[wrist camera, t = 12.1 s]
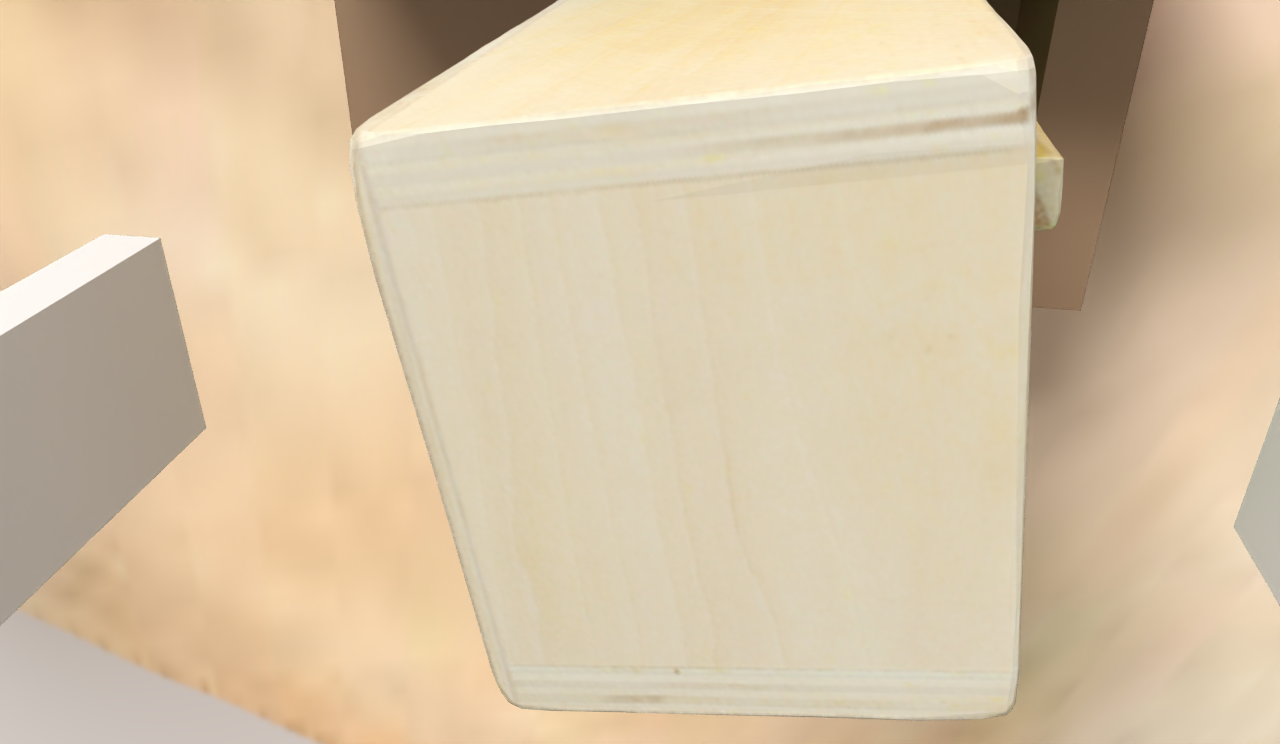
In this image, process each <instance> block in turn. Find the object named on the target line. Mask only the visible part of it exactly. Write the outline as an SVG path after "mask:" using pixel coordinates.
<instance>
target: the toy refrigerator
mask: <svg viewBox="0 0 1280 744" xmlns="http://www.w3.org/2000/svg"><path fill="white" fill-rule="evenodd" d="M1063 165H1064V159H1063V157H1062V156H1061V155H1060V153H1059V152H1058V151H1057V149H1056V148H1055V147H1054V145H1053V144H1052V143H1051V141H1050V140H1049V138H1048V137H1047V135H1046V134H1045V133H1044V131H1043V130H1042V128H1041V127H1040V125H1039V124H1038V122H1037V119H1036V70H1035V64H1034V60H1033V56H1032V54H1031V52H1030V50H1029V48H1028V47H1027V46H1026V44H1025V43H1024V42H1023V41H1022V40H1021V39H1020V38H1019V36H1018V35H1017V34H1016V33H1015V32H1014V31H1013V30H1012V28H1011V27H1010V26H1009V25H1008V24H1007V23H1006V22H1005V21H1004V20H1003V19H1002V18H1001V17H1000V16H999V15H998V14H997V13H996V12H995V11H994V9H993V8H992V7H991V6H990V5H989V4H988V2H987V1H986V0H558V1H556V2H555V3H553V4H552V5H550V6H549V7H547V8H546V9H544V10H542V11H541V12H539V13H538V14H536V15H535V16H533V17H531V18H530V19H528V20H526V21H525V22H523V23H521V24H520V25H518V26H516V27H514V28H513V29H511V30H509V31H508V32H506V33H505V34H503V35H502V36H500V37H498V38H497V39H495V40H493V41H492V42H490V43H488V44H487V45H485V46H483V47H482V48H480V49H479V50H477V51H476V52H474V53H473V54H471V55H470V56H468V57H467V58H465V59H464V60H462V61H460V62H459V63H457V64H456V65H454V66H452V67H451V68H449V69H448V70H446V71H444V72H443V73H441V74H440V75H438V76H436V77H435V78H433V79H432V80H430V81H428V82H427V83H425V84H423V85H422V86H420V87H419V88H417V89H415V90H414V91H412V92H411V93H409V94H407V95H406V96H404V97H403V98H401V99H399V100H398V101H396V102H395V103H393V104H392V105H390V106H388V107H387V108H385V109H384V110H382V111H380V112H379V113H377V114H376V115H374V116H372V117H371V118H369V119H368V120H367V121H365V122H364V123H363V124H362V125H360V126H359V127H358V128H357V129H356V130H355V132H354V134H353V135H352V137H351V138H350V171H351V176H352V181H353V186H354V191H355V197H356V202H357V207H358V211H359V215H360V219H361V223H362V227H363V231H364V235H365V239H366V243H367V247H368V251H369V255H370V259H371V263H372V267H373V270H374V274H375V278H376V281H377V285H378V288H379V291H380V295H381V298H382V301H383V305H384V308H385V311H386V315H387V318H388V321H389V325H390V328H391V331H392V335H393V338H394V341H395V345H396V348H397V351H398V355H399V358H400V361H401V365H402V368H403V371H404V374H405V378H406V381H407V384H408V388H409V391H410V394H411V398H412V401H413V404H414V407H415V411H416V414H417V417H418V421H419V424H420V427H421V431H422V434H423V437H424V440H425V444H426V447H427V450H428V454H429V457H430V460H431V464H432V467H433V470H434V474H435V477H436V480H437V484H438V487H439V491H440V494H441V498H442V501H443V505H444V508H445V511H446V515H447V518H448V522H449V525H450V529H451V532H452V535H453V539H454V542H455V546H456V549H457V553H458V556H459V559H460V563H461V566H462V570H463V573H464V577H465V580H466V584H467V587H468V590H469V594H470V597H471V601H472V604H473V608H474V611H475V614H476V618H477V621H478V625H479V628H480V632H481V635H482V639H483V642H484V645H485V649H486V652H487V656H488V659H489V663H490V666H491V669H492V672H493V675H494V677H495V680H496V682H497V684H498V686H499V688H500V690H501V692H502V694H503V695H504V696H505V698H506V699H507V701H508V702H510V703H511V704H513V705H515V706H517V707H519V708H522V709H534V710H548V711H592V712H632V713H669V714H706V715H746V716H790V717H827V718H858V719H889V720H919V721H922V720H967V719H986V718H992V717H997V716H1002V715H1007V714H1008V713H1009V712H1010V711H1011V710H1012V709H1013V706H1014V704H1015V702H1016V694H1017V685H1018V676H1019V658H1020V630H1021V602H1022V574H1023V547H1024V519H1025V492H1026V465H1027V436H1028V407H1029V377H1030V348H1031V318H1032V288H1033V256H1034V231H1043V230H1051V229H1052V228H1053V227H1054V226H1055V225H1056V223H1057V221H1058V218H1059V215H1060V211H1061V199H1062V187H1063Z"/></svg>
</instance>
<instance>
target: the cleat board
mask: <svg viewBox="0 0 1280 744" xmlns="http://www.w3.org/2000/svg"><path fill="white" fill-rule="evenodd" d="M334 1H335V8H336V16H337V23H338V31H339V38H340V46H341V53H342V60H343V68H344V75H345V83H346V90H347V98H348V105H349V113H350V120H351V128H352V135H353V134H354V132H355V130H356V129H357V128H358V127H359V126H360V125H362V124H363V123H364V122H365V121H367V120H368V119H369V118H371V117H372V116H374V115H376V114H377V113H379V112H380V111H382V110H384V109H385V108H387V107H388V106H390V105H392V104H393V103H395V102H396V101H398V100H399V99H401V98H403V97H404V96H406V95H407V94H409V93H411V92H412V91H414V90H415V89H417V88H419V87H420V86H422V85H423V84H425V83H427V82H428V81H430V80H432V79H433V78H435V77H436V76H438V75H440V74H441V73H443V72H444V71H446V70H448V69H449V68H451V67H452V66H454V65H456V64H457V63H459V62H460V61H462V60H464V59H465V58H467V57H468V56H470V55H471V54H473V53H474V52H476V51H477V50H479V49H480V48H482V47H483V46H485V45H487V44H488V43H490V42H492V41H493V40H495V39H497V38H498V37H500V36H502V35H503V34H505V33H506V32H508V31H509V30H511V29H513V28H514V27H516V26H518V25H520V24H521V23H523V22H525V21H526V20H528V19H530V18H531V17H533V16H535V15H536V14H538V13H539V12H541V11H542V10H544V9H546V8H547V7H549V6H550V5H552V4H553V3H555V2H556V1H558V0H334ZM986 1H987V2H988V4H989V5H990V6H991V7H992V8H993V9H994V11H995V12H996V13H997V14H998V15H999V16H1000V17H1001V18H1002V19H1003V20H1004V21H1005V22H1006V23H1007V24H1008V25H1009V26H1010V27H1011V28H1012V30H1013V31H1014V32H1015V33H1016V34H1017V35H1018V36H1019V38H1020V39H1021V40H1022V41H1023V42H1024V43H1025V44H1026V46H1027V47H1028V48H1029V50H1030V52H1031V54H1032V56H1033V60H1034V64H1035V70H1036V119H1037V122H1038V124H1039V125H1040V127H1041V128H1042V130H1043V131H1044V133H1045V134H1046V135H1047V137H1048V138H1049V140H1050V141H1051V143H1052V144H1053V145H1054V147H1055V148H1056V149H1057V151H1058V152H1059V153H1060V155H1061V156H1062V157H1063V159H1064V165H1063V187H1062V199H1061V211H1060V215H1059V218H1058V221H1057V223H1056V225H1055V226H1054V227H1053V228H1052V229H1051V230H1043V231H1034V256H1033V288H1032V307H1039V308H1053V309H1066V310H1079V311H1081V306H1082V302H1083V298H1084V294H1085V289H1086V285H1087V281H1088V277H1089V272H1090V268H1091V264H1092V260H1093V256H1094V251H1095V247H1096V243H1097V239H1098V234H1099V230H1100V226H1101V222H1102V217H1103V213H1104V209H1105V205H1106V200H1107V196H1108V192H1109V188H1110V183H1111V179H1112V175H1113V171H1114V166H1115V162H1116V158H1117V154H1118V149H1119V145H1120V141H1121V137H1122V132H1123V128H1124V124H1125V120H1126V116H1127V111H1128V107H1129V103H1130V99H1131V94H1132V90H1133V86H1134V82H1135V77H1136V73H1137V69H1138V65H1139V60H1140V56H1141V52H1142V48H1143V43H1144V39H1145V35H1146V31H1147V26H1148V22H1149V18H1150V14H1151V9H1152V5H1153V1H1154V0H986Z"/></svg>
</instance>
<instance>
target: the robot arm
mask: <svg viewBox="0 0 1280 744" xmlns="http://www.w3.org/2000/svg"><path fill="white" fill-rule="evenodd" d="M205 429H206V425H205V421H204V417H203V413H202V408H201V404H200V400H199V396H198V392H197V388H196V384H195V380H194V375H193V371H192V367H191V363H190V359H189V355H188V351H187V347H186V342H185V338H184V334H183V330H182V326H181V322H180V318H179V314H178V309H177V305H176V301H175V297H174V293H173V289H172V285H171V281H170V276H169V272H168V268H167V264H166V260H165V256H164V252H163V248H162V243H161V239H160V238H152V237H137V236H122V235H107V234H103V235H102V236H100V237H98V238H96V239H94V240H93V241H91V242H89V243H87V244H85V245H84V246H82V247H80V248H78V249H76V250H75V251H73V252H71V253H69V254H68V255H66V256H64V257H62V258H60V259H59V260H57V261H55V262H53V263H51V264H50V265H48V266H46V267H44V268H42V269H41V270H39V271H37V272H35V273H33V274H32V275H30V276H28V277H26V278H24V279H23V280H21V281H19V282H17V283H15V284H14V285H12V286H10V287H8V288H7V289H5V290H3V291H1V292H0V626H1V625H2V624H3V623H4V622H5V621H6V620H7V619H8V618H9V617H10V616H11V615H12V614H13V613H14V612H15V611H16V610H17V609H18V608H19V607H20V606H21V605H22V604H23V603H25V602H26V601H27V600H28V599H29V598H30V597H31V596H32V595H33V594H34V593H35V592H36V591H37V590H38V589H39V588H40V587H41V586H42V585H43V584H44V583H45V582H46V581H47V580H48V579H49V578H51V577H52V576H53V575H54V574H55V573H56V572H57V571H58V570H59V569H60V568H61V567H62V566H63V565H64V564H65V563H66V562H67V561H68V560H69V559H70V558H71V557H72V556H73V555H74V554H75V553H77V552H78V551H79V550H80V549H81V548H82V547H83V546H84V545H85V544H86V543H87V542H88V541H89V540H90V539H91V538H92V537H93V536H94V535H95V534H96V533H97V532H98V531H99V530H100V529H101V528H103V527H104V526H105V525H106V524H107V523H108V522H109V521H110V520H111V519H112V518H113V517H114V516H115V515H116V514H117V513H118V512H119V511H120V510H121V509H122V508H123V507H124V506H125V505H126V504H128V503H129V502H130V501H131V500H132V499H133V498H134V497H135V496H136V495H137V494H138V493H139V492H140V491H141V490H142V489H143V488H144V487H145V486H146V485H147V484H148V483H149V482H150V481H151V480H152V479H154V478H155V477H156V476H157V475H158V474H159V473H160V472H161V471H162V470H163V469H164V468H165V467H166V466H167V465H168V464H169V463H170V462H171V461H172V460H173V459H174V458H175V457H176V456H177V455H178V454H180V453H181V452H182V451H183V450H184V449H185V448H186V447H187V446H188V445H189V444H190V443H191V442H192V441H193V440H194V439H195V438H196V437H197V436H198V435H199V434H200V433H201V432H202V431H203V430H205ZM1234 528H1235V530H1236V532H1237V534H1238V535H1239V537H1240V539H1241V540H1242V542H1243V544H1244V546H1245V547H1246V549H1247V551H1248V552H1249V554H1250V556H1251V558H1252V559H1253V561H1254V563H1255V564H1256V566H1257V568H1258V570H1259V571H1260V573H1261V575H1262V576H1263V578H1264V580H1265V582H1266V583H1267V585H1268V587H1269V588H1270V590H1271V592H1272V593H1273V595H1274V597H1275V599H1276V600H1277V602H1278V604H1279V605H1280V399H1279V402H1278V404H1277V407H1276V410H1275V413H1274V416H1273V418H1272V421H1271V424H1270V427H1269V429H1268V432H1267V435H1266V438H1265V441H1264V443H1263V446H1262V449H1261V452H1260V454H1259V457H1258V460H1257V463H1256V466H1255V468H1254V471H1253V474H1252V477H1251V479H1250V482H1249V485H1248V488H1247V491H1246V493H1245V496H1244V499H1243V502H1242V504H1241V507H1240V510H1239V513H1238V516H1237V518H1236V521H1235V524H1234Z"/></svg>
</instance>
